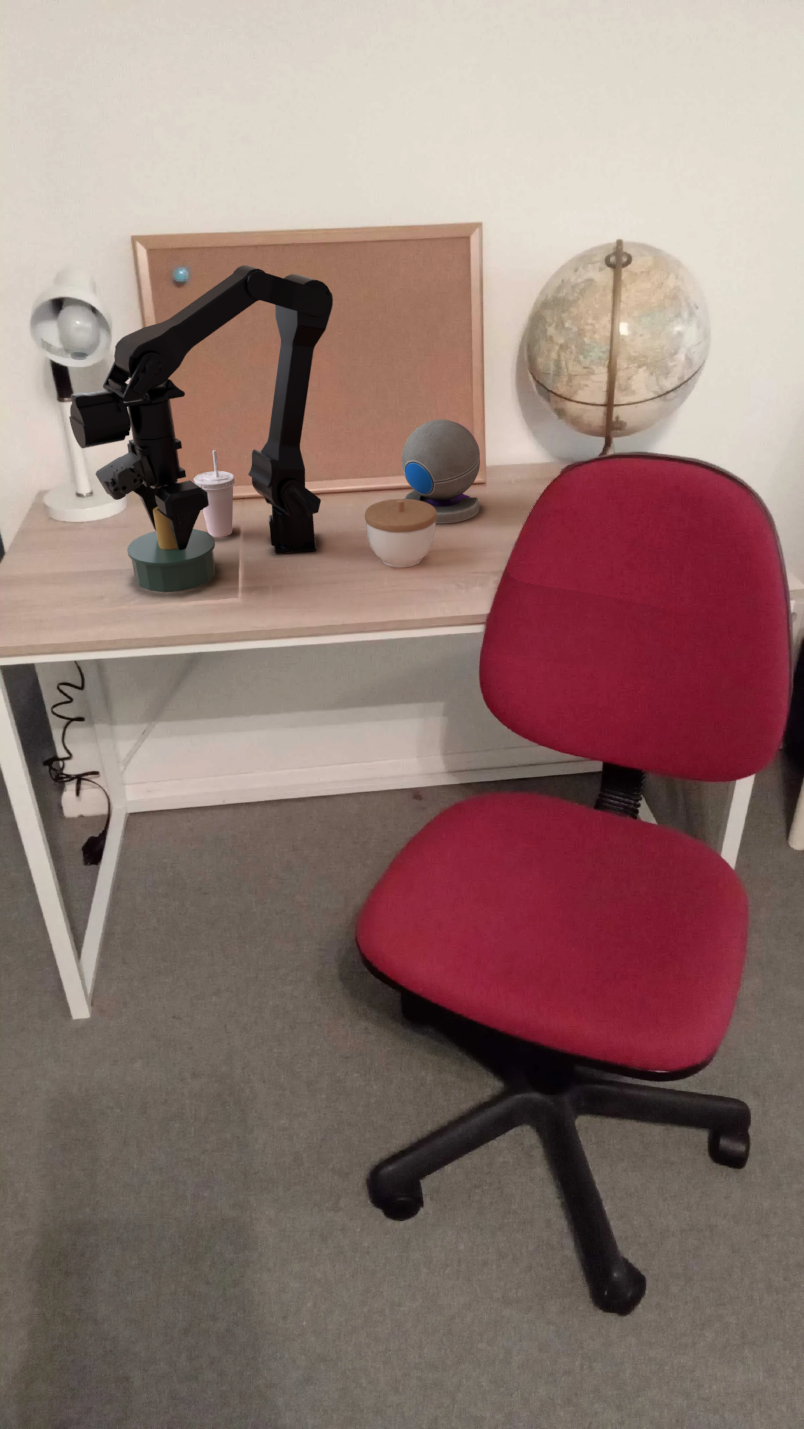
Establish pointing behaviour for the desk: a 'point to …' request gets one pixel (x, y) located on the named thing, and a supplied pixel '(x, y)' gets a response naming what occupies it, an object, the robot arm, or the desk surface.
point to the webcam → (442, 469)
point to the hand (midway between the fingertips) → (170, 539)
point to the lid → (168, 545)
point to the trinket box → (400, 530)
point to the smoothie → (217, 499)
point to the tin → (175, 575)
